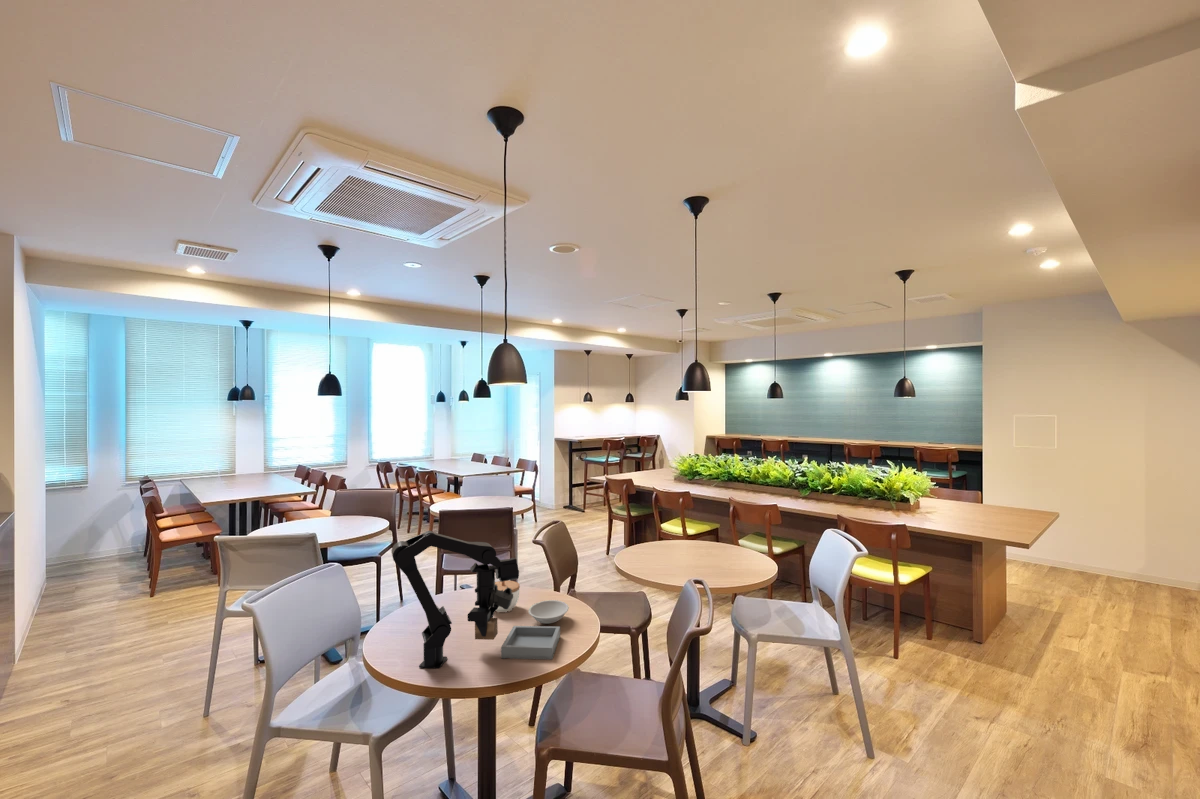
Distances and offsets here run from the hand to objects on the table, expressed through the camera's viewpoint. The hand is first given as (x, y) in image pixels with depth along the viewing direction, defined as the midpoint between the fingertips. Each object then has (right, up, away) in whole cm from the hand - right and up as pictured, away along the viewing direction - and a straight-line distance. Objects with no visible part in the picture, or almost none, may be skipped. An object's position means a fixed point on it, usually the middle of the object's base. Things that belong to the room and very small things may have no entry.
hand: (486, 633), depth 165 cm
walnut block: (0, -1, 0) cm, 1 cm away
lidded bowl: (-1, -7, +36) cm, 37 cm away
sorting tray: (+14, -6, +3) cm, 16 cm away
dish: (+18, -7, +22) cm, 29 cm away
